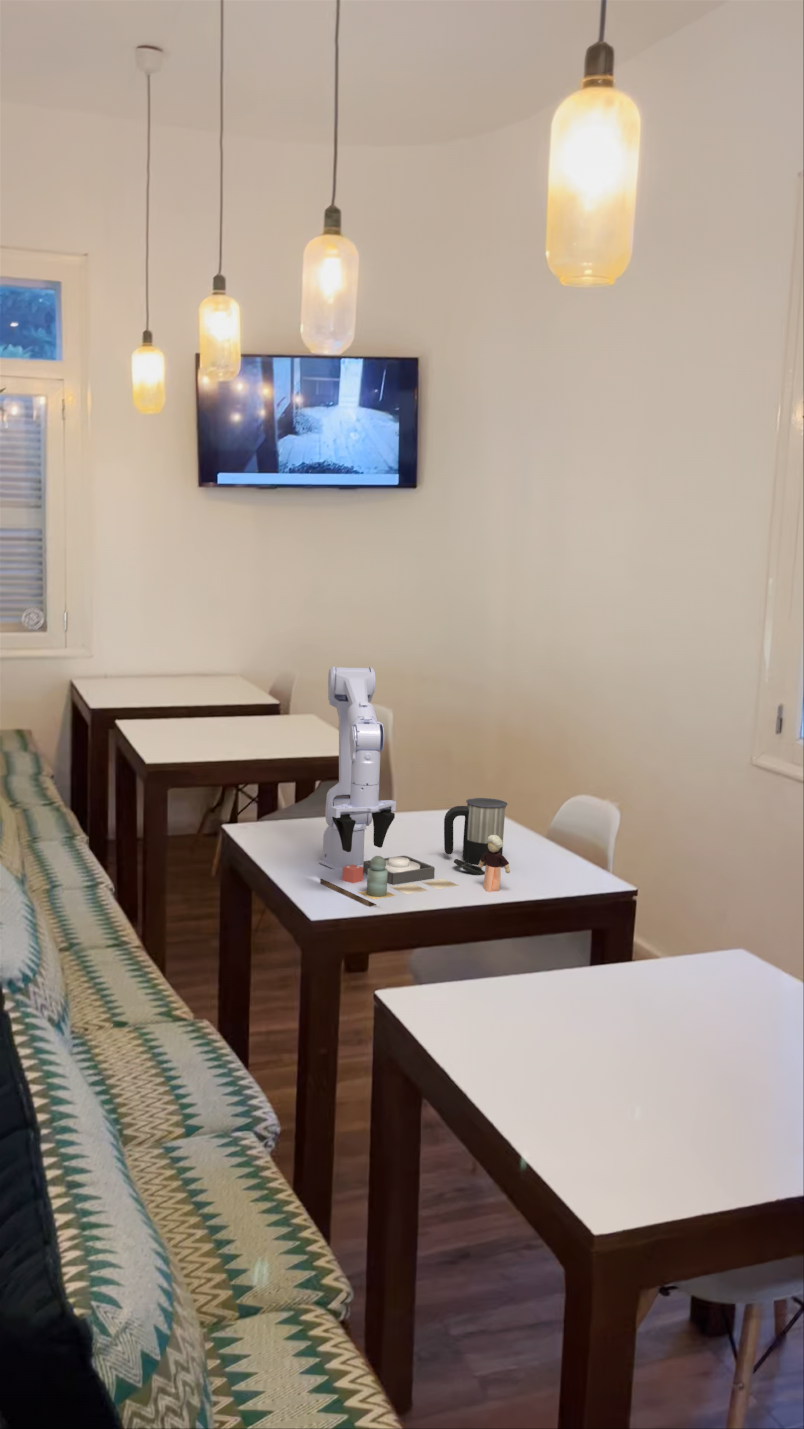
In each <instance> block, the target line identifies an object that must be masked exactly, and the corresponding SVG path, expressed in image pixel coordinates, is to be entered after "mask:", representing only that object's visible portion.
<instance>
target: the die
mask: <svg viewBox="0 0 804 1429" xmlns="http://www.w3.org/2000/svg"><path fill="white" fill-rule="evenodd" d="M363 880H364V872H363V866H361V865H358V866H356V865H349V866H345V867H343V868H342V876H341V881H342V882H343V881H344V882H348V883H350V884H356V883H359V882H363Z"/></svg>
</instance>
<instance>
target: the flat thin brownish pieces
mask: <svg viewBox="0 0 804 1429" xmlns="http://www.w3.org/2000/svg"><path fill="white" fill-rule="evenodd" d="M421 883H422V884H423V885H427V886H429V887H432V888H434V889H437V890H440V889H445V888H446V889H447V888H454V887H458V886H460V884H457V883H454V882H452V881H449V880H447V879H445V878H439V879H430V880H424V881H421ZM320 884H321V885H323V886H325V887H327V888H329V889H331V890H333V891H335V892H336V893H339V894H341V895H344V896H345V897H347V898H350V899H352V900H354V901H356V902H358V903H360V904H363V905H364V906H367V907H372V906H377V904H376V903H375V902H373V901H370V900H367V899H365V898H363V897H362V896H364V897H366V898H368V899H371V900H379V899H385V898H393V897H396V896H397V895H396V894H393V893H391V892H389V891H387V895H386V896H383V897H373V896H369V895H367V890H364V891H363V890H362V891H358V892H357V893H358V894H360V895H362V896H359V895H357V894H355V893H353V892H351V891H349V890H346V889H345V888H342V887H341V886H338V885H337V884H336V885H335V884H333V883H331V882H329V881H327V880H325V879H323V878H320ZM390 889H393V890H395V891H398V892H400V893H402V894H405V895H408V894H409V895H410V894H416V893H423V892H427V891H429V889H426V888H425V887H421V886H419V885H417V884H415V883H405V884H399V885H392V886H390Z"/></svg>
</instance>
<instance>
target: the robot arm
mask: <svg viewBox="0 0 804 1429" xmlns="http://www.w3.org/2000/svg"><path fill="white" fill-rule="evenodd" d="M327 677H328V678H327V685H328V686H327V688H328V691H327V692H328V694H327V695H328V697H327V699H328V701H329V702H328V703H329V705H330V706H332V707H334V708H336V713H337V716H338V782H337V783H336V784H334V786H332V787H330V788H329V789H328V791H327V793H326V801H325V809H324V810H325V812H324V813H325V815H324V816H325V822H326V824H327V825H328V826H327V827H326V829H325V831H324V833H323V839H322V840H323V841H322V859H321V860H319V864H322V865H323V866H326V867H327V868H330V869H333V870H335V869H343V867H345V866H349V865H356V866H363V863H364V861H365V860H364V859H365V858H364V856H365V853H364V852H365V834H366V833H365V832H366V831H365V830H367V827H369V826H370V825H371V824H373V826H372V827H373V839H372V840H373V846H375V847H377V848H379V849H381V848H383V846H384V841H385V837H386V836H387V833H388V830H389V828H390V826H391V825H392V822H393V821H394V820H395V816H396V815H395V814H396V813H394V812H396V811H397V810H396V809H397V801H395V800H391V799H388V800H387V799H386V800H383V799H382V800H379V797H380V774H381V772H380V771H381V753H382V752H383V751H384V746H385V729H384V725H383V722H381V721H378V718H377V713H376V709H375V706H373V704H372V703H371V702H372V699H373V696H374V693H375V691H376V682H377V681H376V680H377V679H376V671H375V669H374V668H373V667H372V666H371V667H370V666H369V667H345V666H343V667H342V666H341V667H340V666H333V665H332V666H331V667H330V668H329V670H328V676H327Z"/></svg>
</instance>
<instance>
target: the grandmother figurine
mask: <svg viewBox="0 0 804 1429" xmlns="http://www.w3.org/2000/svg"><path fill="white" fill-rule="evenodd" d="M487 841H488V849H489V850H490V851H487V852H486V853H484V854H483V856H482V857H481V859H480V862H479V864H478V865H477V866H478V867H480V868H483V867H485V868H484V871H485V875H484V877H483V889H484V890H485V892H486V893H487V892H488V893H492V892H500V889H501V888H500V887H501V879H502V877H501V872H502V871H501V865H502V866H503V867H502V868H503V869H504V870H505V873H506V874H510V873H511V869H510V862H509V861H508V860H507V858H506V857H505V856H504V855H503V854H502V855H501V854H500V853H499V852H498V851H499V850H500V848H501V847H502V846H503V847H504V845H505V844H504V841H503V842H502V840H501V839H500V838H499V836H497V835H490V836H489V837H488V840H487ZM485 862H486V866H483V864H484V863H485Z"/></svg>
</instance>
